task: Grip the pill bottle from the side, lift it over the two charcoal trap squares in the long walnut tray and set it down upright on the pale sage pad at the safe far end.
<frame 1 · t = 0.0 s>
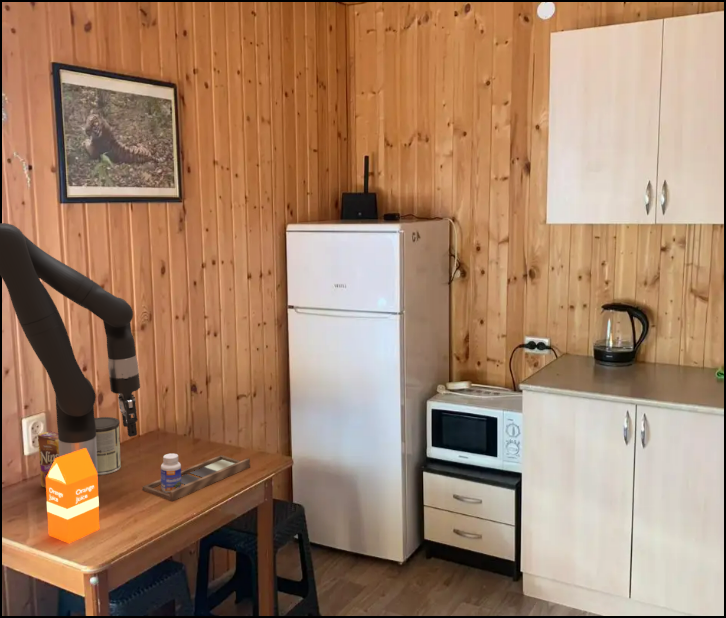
hand: (130, 430, 198), 17 cm above the table, tool pointing down, fingers open, 8 cm apart
pill bottle: (171, 490, 202), resting in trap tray
candy box: (57, 488, 201), on the table
coffee can: (102, 469, 216), on the table
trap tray: (198, 478, 210), on the table
orange juice: (74, 532, 176), on the table
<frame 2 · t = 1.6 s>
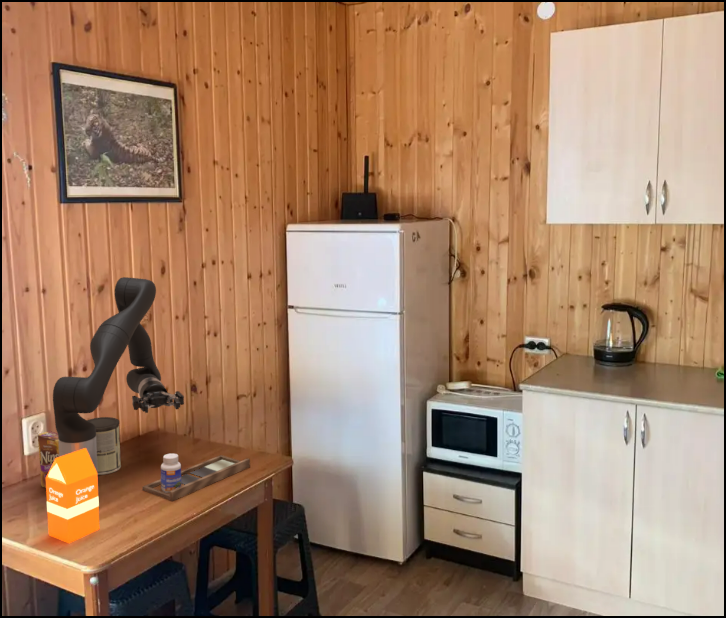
hand: (162, 407, 208), 20 cm above the table, tool horizontal, fingers open, 8 cm apart
nothing on the table moved.
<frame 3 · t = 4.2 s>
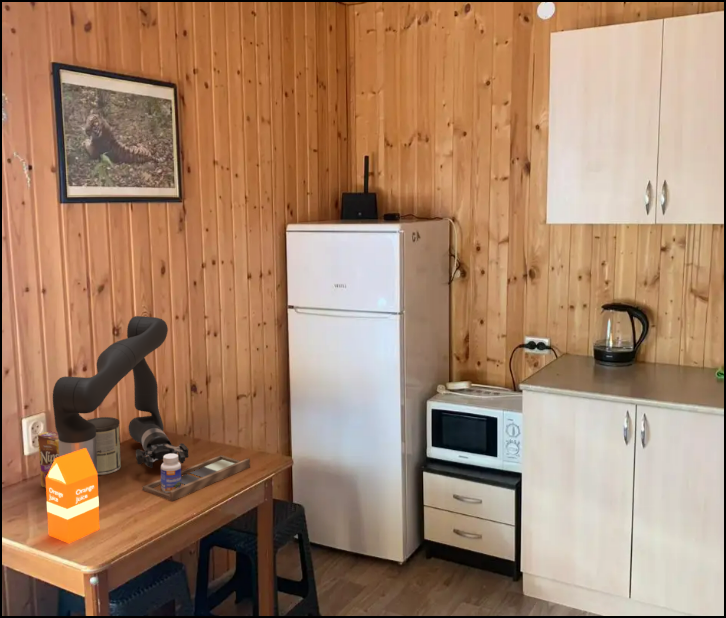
hand: (167, 462, 205), 6 cm above the table, tool horizontal, fingers open, 8 cm apart
nothing on the table moved.
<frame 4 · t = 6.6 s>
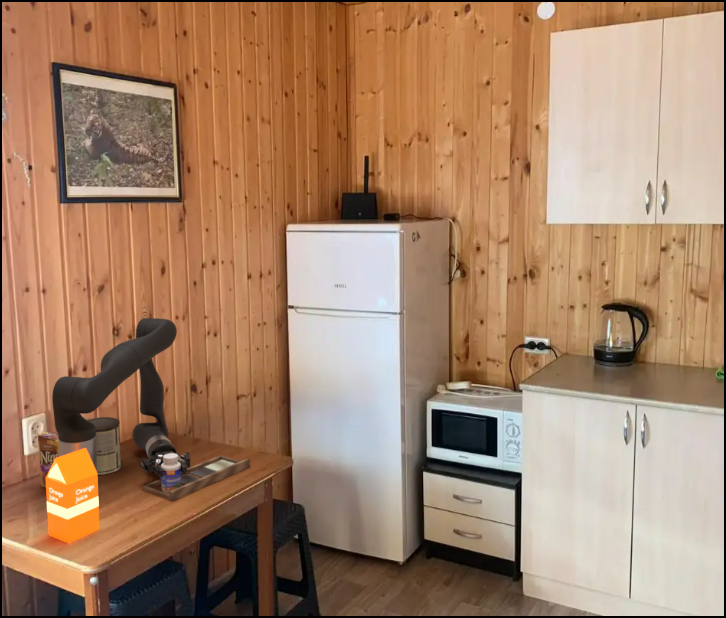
hand: (172, 471, 199), 6 cm above the table, tool horizontal, fingers closed on pill bottle, 5 cm apart
pill bottle: (171, 490, 202), resting in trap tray, touching gripper
everything else where it was.
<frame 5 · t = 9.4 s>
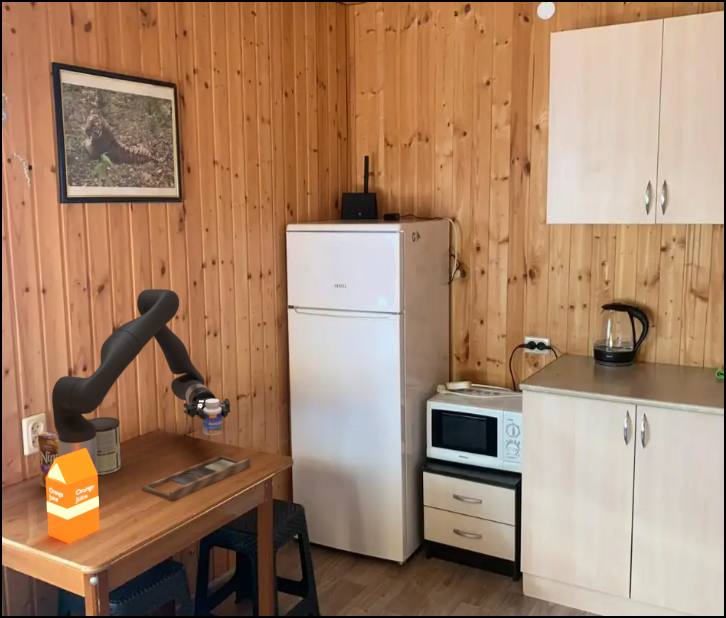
hand: (214, 415, 210), 18 cm above the table, tool horizontal, fingers closed on pill bottle, 5 cm apart
pill bottle: (212, 433, 213), point 12 cm above the table, touching gripper
everything else where it was.
when the fingers open (7 cm above the table, at t = 12.6 s): pill bottle drops 1 cm, resting on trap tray.
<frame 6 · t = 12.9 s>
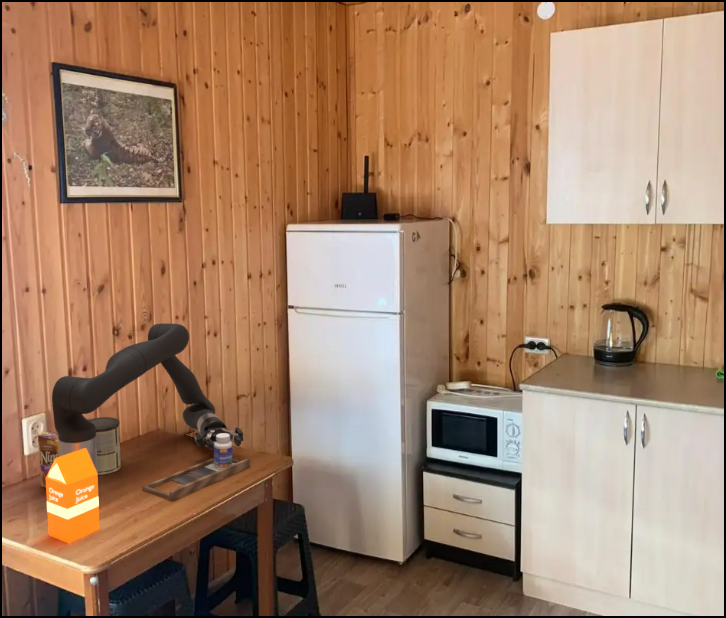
hand: (225, 444, 215), 8 cm above the table, tool horizontal, fingers open, 7 cm apart
pill bottle: (223, 467, 219), resting on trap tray
everything else where it was.
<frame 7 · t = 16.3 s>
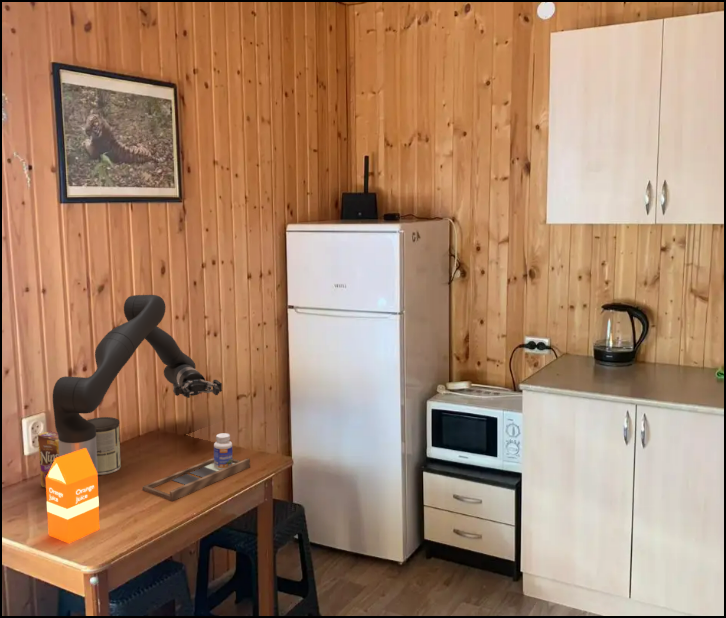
hand: (202, 393, 219), 21 cm above the table, tool horizontal, fingers open, 8 cm apart
nothing on the table moved.
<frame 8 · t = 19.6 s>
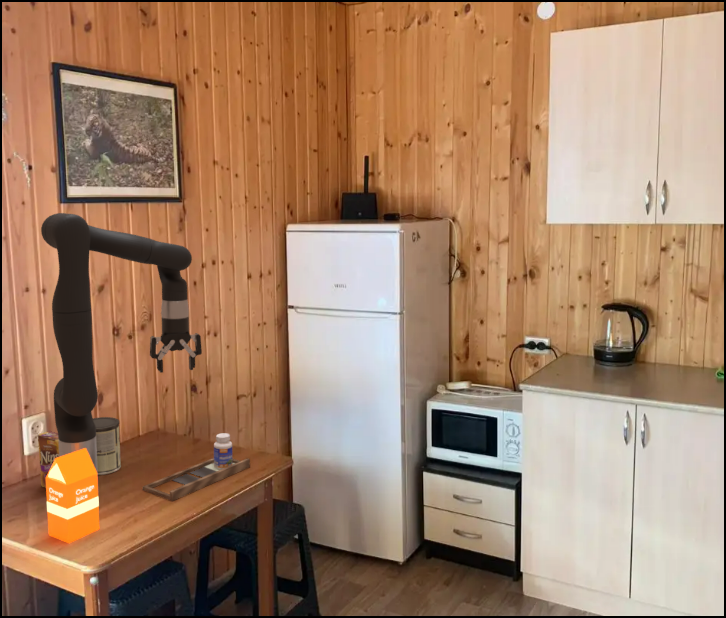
hand: (176, 370, 211), 30 cm above the table, tool pointing down, fingers open, 8 cm apart
nothing on the table moved.
at the end: pill bottle 0.2 cm from the target spot, resting on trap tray; pill bottle tilted 0°; the gripper is holding nothing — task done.
